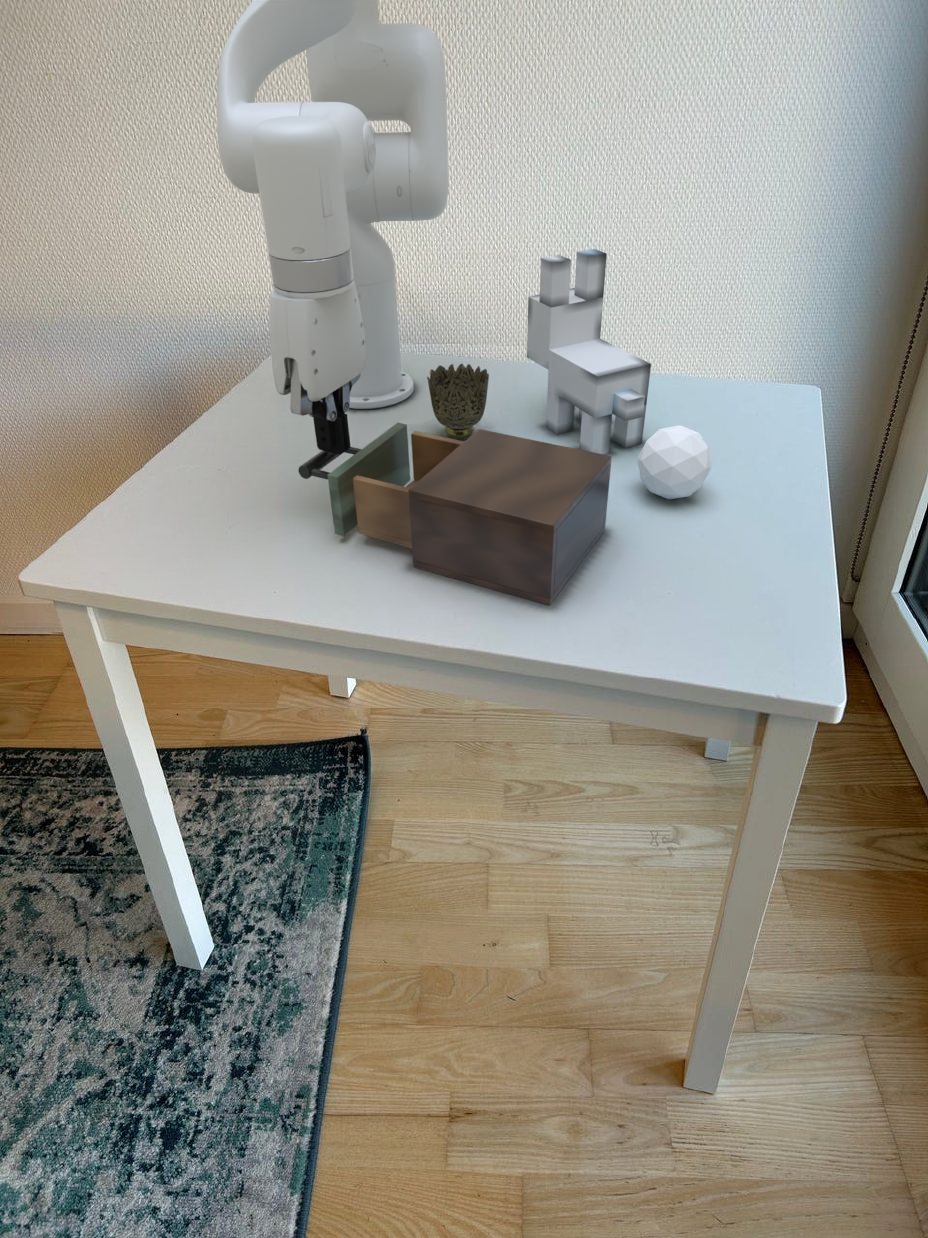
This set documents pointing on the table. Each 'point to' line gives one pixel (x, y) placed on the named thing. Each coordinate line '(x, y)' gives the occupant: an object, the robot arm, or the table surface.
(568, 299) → the toy llama
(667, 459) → the geometric ball
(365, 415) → the table surface
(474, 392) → the cup
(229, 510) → the table surface
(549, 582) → the cabinet
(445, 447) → the drawer
